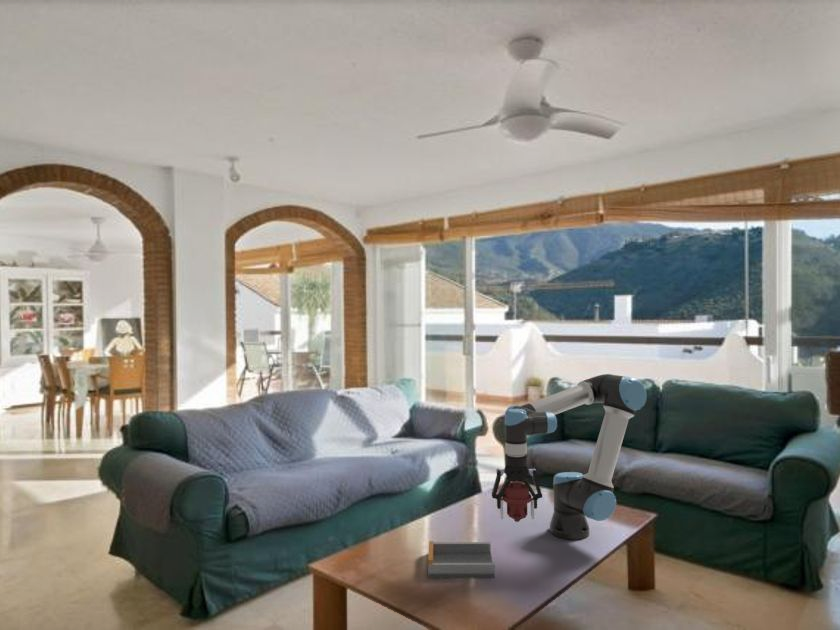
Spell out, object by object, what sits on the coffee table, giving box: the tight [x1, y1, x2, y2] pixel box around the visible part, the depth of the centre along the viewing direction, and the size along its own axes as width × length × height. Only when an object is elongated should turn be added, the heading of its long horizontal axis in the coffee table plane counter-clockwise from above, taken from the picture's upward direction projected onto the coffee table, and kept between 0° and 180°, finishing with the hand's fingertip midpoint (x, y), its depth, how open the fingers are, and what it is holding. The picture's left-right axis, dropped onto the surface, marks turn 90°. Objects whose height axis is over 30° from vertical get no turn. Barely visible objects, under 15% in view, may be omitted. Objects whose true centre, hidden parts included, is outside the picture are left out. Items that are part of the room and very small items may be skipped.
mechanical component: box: [502, 481, 533, 523], centre depth 198 cm, size 12×10×10 cm
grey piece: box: [427, 540, 496, 579], centre depth 197 cm, size 22×19×5 cm
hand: (517, 517), depth 198 cm, fingers closed on mechanical component, 10 cm apart
